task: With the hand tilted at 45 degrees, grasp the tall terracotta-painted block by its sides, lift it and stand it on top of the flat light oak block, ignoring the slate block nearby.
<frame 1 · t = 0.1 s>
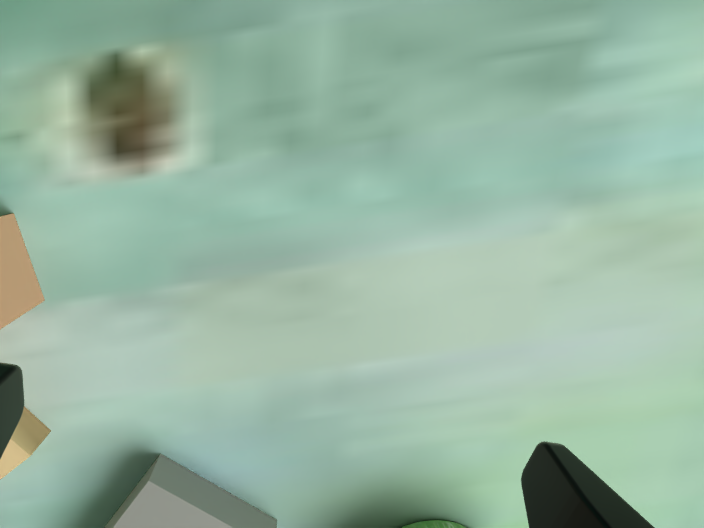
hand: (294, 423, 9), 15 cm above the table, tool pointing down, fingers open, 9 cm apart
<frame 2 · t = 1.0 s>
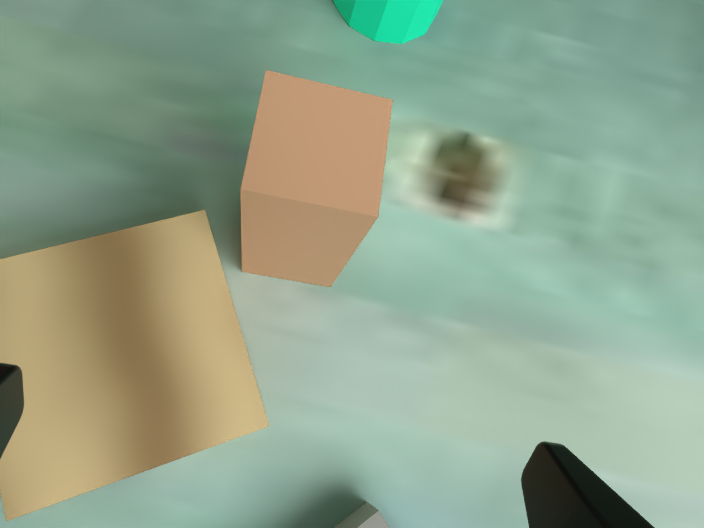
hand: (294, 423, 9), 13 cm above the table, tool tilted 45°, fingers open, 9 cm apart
terracotta block: (293, 238, 24), on the table
candle: (384, 0, 29), on the table
oak block: (130, 355, 22), on the table
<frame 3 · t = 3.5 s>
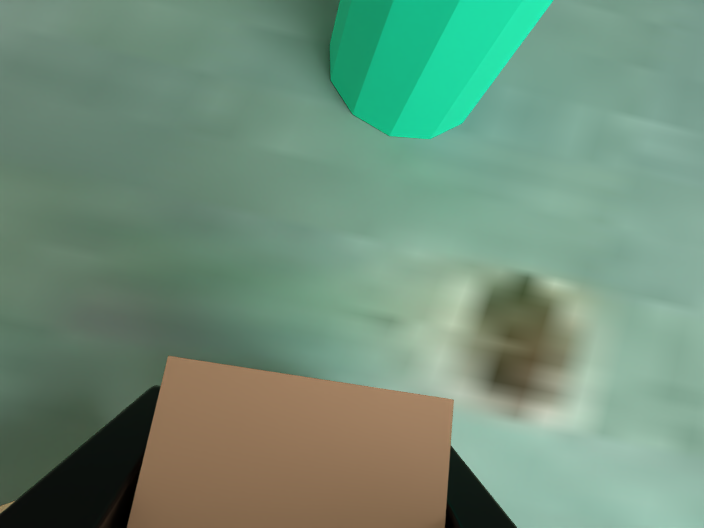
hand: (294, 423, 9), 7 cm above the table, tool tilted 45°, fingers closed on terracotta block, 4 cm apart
terracotta block: (264, 472, 15), on the table, touching gripper
candle: (403, 73, 20), on the table
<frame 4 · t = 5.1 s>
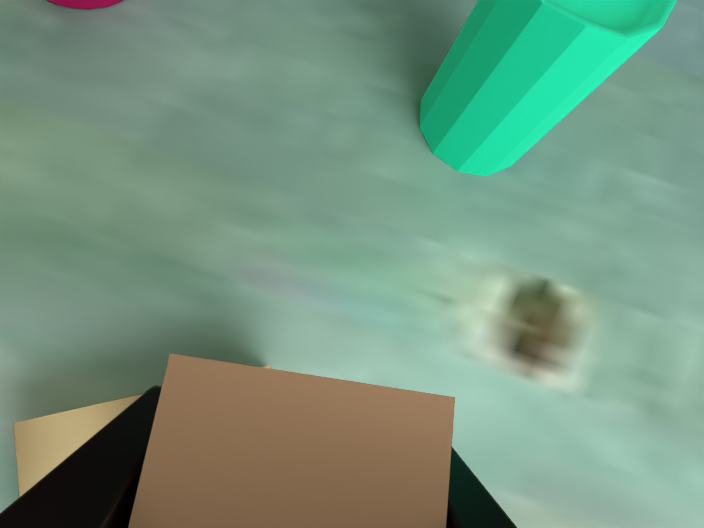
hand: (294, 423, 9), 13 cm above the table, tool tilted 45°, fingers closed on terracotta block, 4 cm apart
terracotta block: (265, 470, 15), point 7 cm above the table, touching gripper
candle: (470, 125, 28), on the table
oak block: (177, 509, 21), on the table
when the fingers open (10 cm above the table, at t = 6.8 s): terracotta block stays where it is, point 2 cm above the table.
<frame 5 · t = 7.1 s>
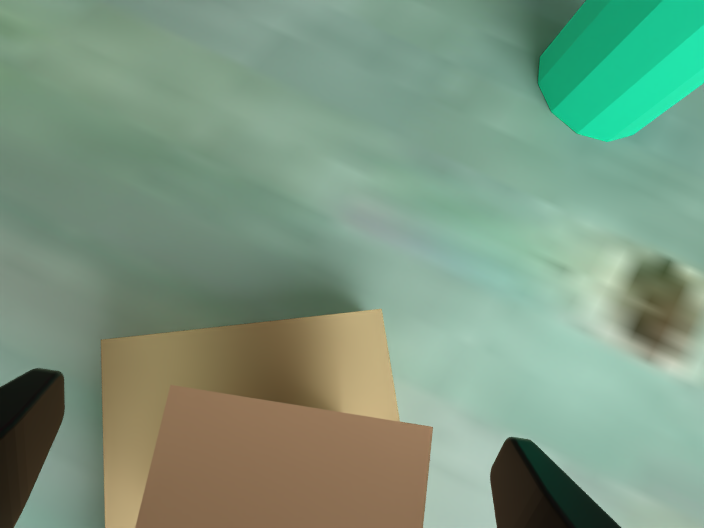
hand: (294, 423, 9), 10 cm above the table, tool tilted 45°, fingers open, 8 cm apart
terracotta block: (269, 477, 16), point 2 cm above the table
candle: (591, 88, 26), on the table
oak block: (260, 462, 18), on the table
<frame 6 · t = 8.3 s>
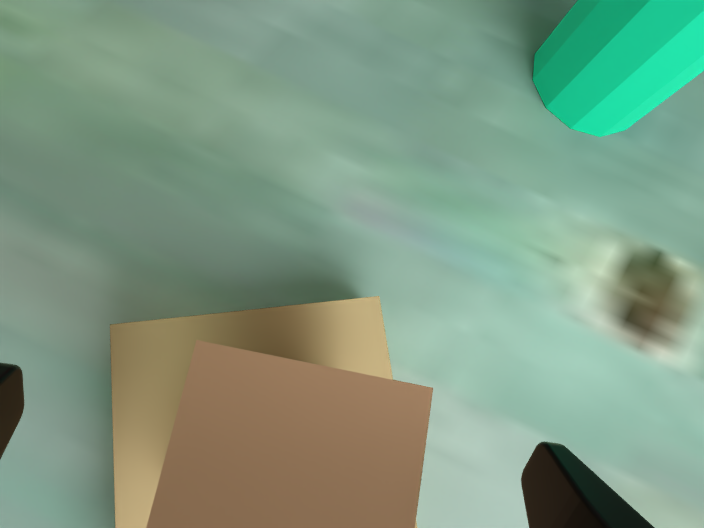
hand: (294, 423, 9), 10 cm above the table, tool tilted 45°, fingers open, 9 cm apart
terracotta block: (269, 448, 17), point 2 cm above the table, touching oak block
candle: (584, 85, 26), on the table
oak block: (263, 444, 19), on the table, touching terracotta block
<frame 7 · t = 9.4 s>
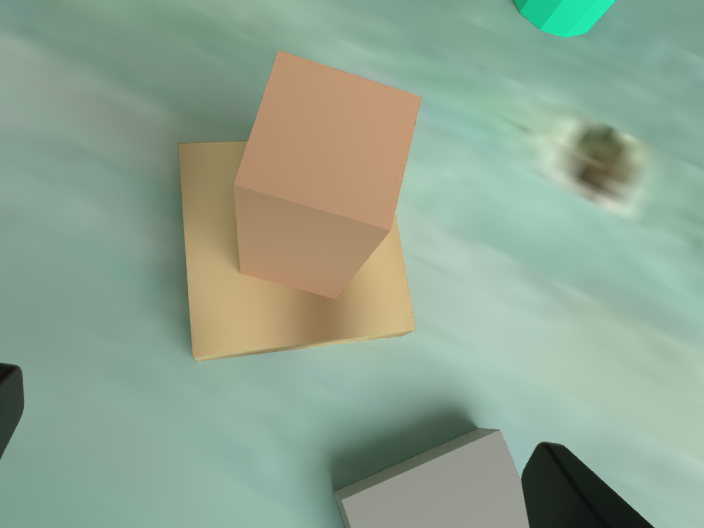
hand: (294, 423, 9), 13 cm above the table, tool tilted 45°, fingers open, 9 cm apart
terracotta block: (300, 241, 22), point 2 cm above the table
oak block: (291, 253, 24), on the table
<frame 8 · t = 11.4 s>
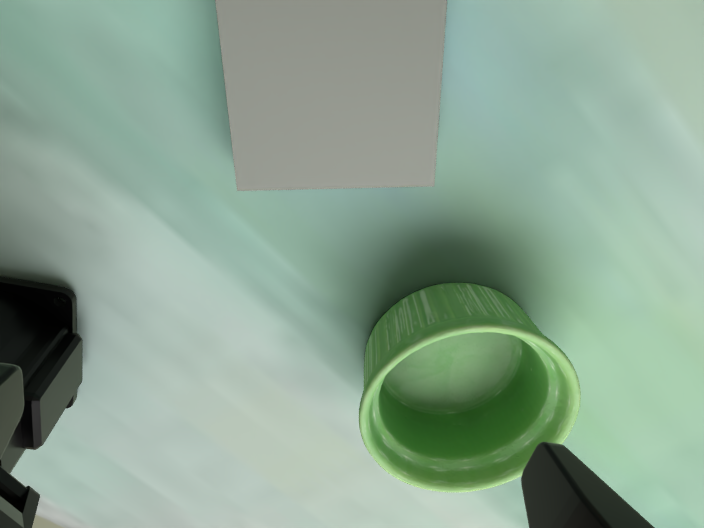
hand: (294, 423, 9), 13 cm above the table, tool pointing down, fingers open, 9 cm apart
ramekin: (446, 348, 25), on the table
slate block: (332, 74, 19), on the table
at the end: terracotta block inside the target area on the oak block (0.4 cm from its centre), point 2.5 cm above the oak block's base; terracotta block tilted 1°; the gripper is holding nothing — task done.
